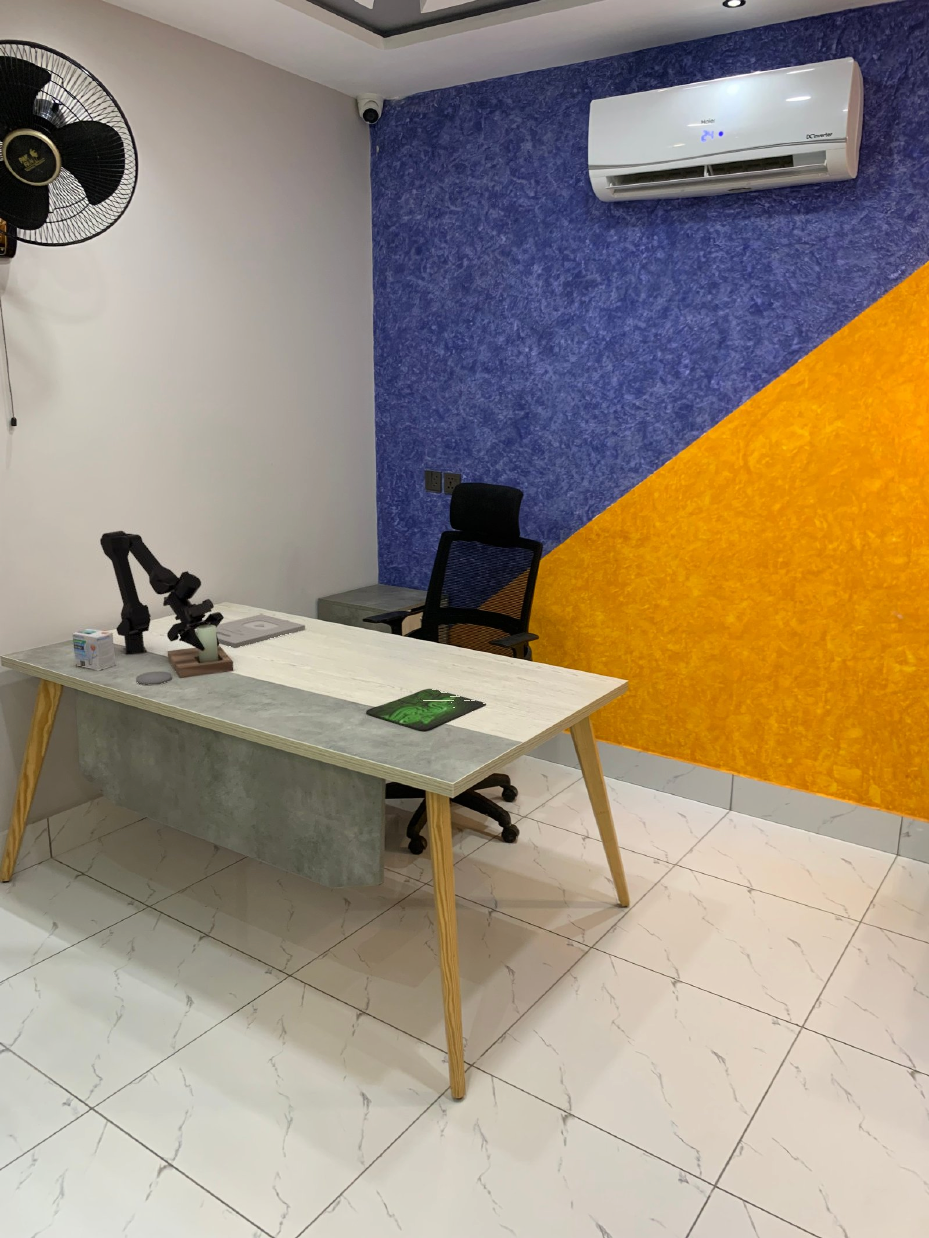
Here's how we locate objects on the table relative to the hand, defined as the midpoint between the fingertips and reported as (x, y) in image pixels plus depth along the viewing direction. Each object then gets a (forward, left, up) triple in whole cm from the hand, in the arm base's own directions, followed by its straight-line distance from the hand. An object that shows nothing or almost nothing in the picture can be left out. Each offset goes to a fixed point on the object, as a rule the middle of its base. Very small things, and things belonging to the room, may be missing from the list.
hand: (211, 647), depth 279 cm
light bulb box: (-19, -32, -7) cm, 38 cm away
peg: (-1, -1, -7) cm, 7 cm away
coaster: (+3, -18, -7) cm, 19 cm away
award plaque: (-36, +20, -7) cm, 42 cm away
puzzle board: (-5, -3, -7) cm, 9 cm away
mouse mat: (+62, +44, -7) cm, 76 cm away
